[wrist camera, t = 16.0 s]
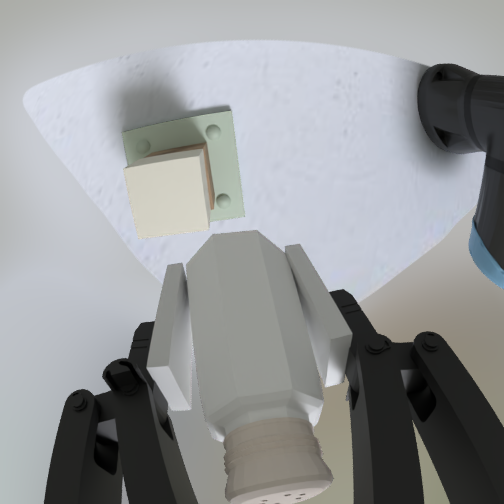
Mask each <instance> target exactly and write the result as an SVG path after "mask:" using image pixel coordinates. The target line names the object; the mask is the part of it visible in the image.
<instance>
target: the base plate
mask: <svg viewBox="0 0 504 504" xmlns="http://www.w3.org/2000/svg"><path fill="white" fill-rule="evenodd" d="M122 136H123V142H124V147H125V152H126V157H127V162H128V166H129V165H130V164H132V163H133V162H135V161H137V160H138V159H141V158H144V157H146V156H147V155H149V154H151V153H152V152H157V151H162V150H167V149H172V148H177V147H182V146H187V145H193V144H199V143H205V142H207V147H208V153H209V160H210V167H211V173H212V180H213V186H214V192H215V203H214V209H213V210H211V215H210V222H213V221H219V220H226V219H233V218H240V217H245V210H244V203H243V195H242V187H241V179H240V171H239V163H238V155H237V147H236V139H235V132H234V124H233V116H232V111H226V112H219V113H212V114H206V115H200V116H194V117H188V118H183V119H178V120H173V121H168V122H163V123H158V124H154V125H150V126H145V127H141V128H137V129H133V130H129V131H126V132H122Z"/></svg>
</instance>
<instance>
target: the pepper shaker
mask: <svg viewBox="0 0 504 504" xmlns="http://www.w3.org/2000/svg"><path fill="white" fill-rule="evenodd" d="M186 272H187V285H188V297H189V308H190V319H191V329H192V338H193V346H194V355H195V363H196V371H197V378H198V385H199V391H200V398H201V403H202V408H203V412H204V416H205V421H206V423H207V426H208V428H209V431H210V434H211V436H212V438H213V439H215V440H218V441H221V442H223V444H224V448H225V450H226V454H225V456H224V460H225V463H224V465H225V467H226V468H225V472H226V474H227V475H228V479H227V484H226V488H225V497H226V499H227V500H228V501H229V502H230V503H231V504H293V503H297V502H300V501H304V500H306V499H309V498H312V497H314V496H316V495H318V494H319V493H321V492H322V491H324V490H325V489H326V488H328V487H329V486H330V485H331V483H332V481H333V475H332V473H331V470H330V469H329V468H328V466H327V465H326V464H325V462H324V461H323V459H322V455H323V452H322V450H321V446H320V444H319V440H318V439H317V438H316V437H314V435H313V433H314V428H313V427H314V426H315V425H316V424H317V423H318V420H319V416H320V413H321V409H322V406H323V403H324V398H323V393H322V387H321V381H320V377H319V373H318V369H317V365H316V361H315V357H314V353H313V349H312V345H311V341H310V337H309V333H308V330H307V326H306V322H305V318H304V314H303V311H302V307H301V303H300V300H299V296H298V292H297V289H296V285H295V281H294V278H293V274H292V271H291V267H290V264H289V261H288V259H287V256H286V254H285V253H284V252H283V251H282V250H281V249H279V248H278V247H277V246H276V245H275V244H273V243H272V242H271V241H270V240H268V239H267V238H266V237H265V236H263V235H262V234H261V233H260V232H258V231H257V230H253V231H242V232H232V233H221V234H212V236H211V237H210V238H209V239H208V240H207V241H206V242H205V244H204V245H203V246H202V247H201V248H200V249H199V250H198V252H197V253H196V254H195V255H194V256H193V257H192V258H191V260H190V261H189V262H188V263H187V264H186Z"/></svg>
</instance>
